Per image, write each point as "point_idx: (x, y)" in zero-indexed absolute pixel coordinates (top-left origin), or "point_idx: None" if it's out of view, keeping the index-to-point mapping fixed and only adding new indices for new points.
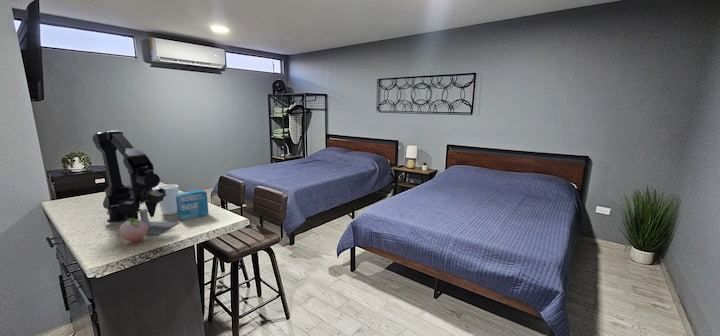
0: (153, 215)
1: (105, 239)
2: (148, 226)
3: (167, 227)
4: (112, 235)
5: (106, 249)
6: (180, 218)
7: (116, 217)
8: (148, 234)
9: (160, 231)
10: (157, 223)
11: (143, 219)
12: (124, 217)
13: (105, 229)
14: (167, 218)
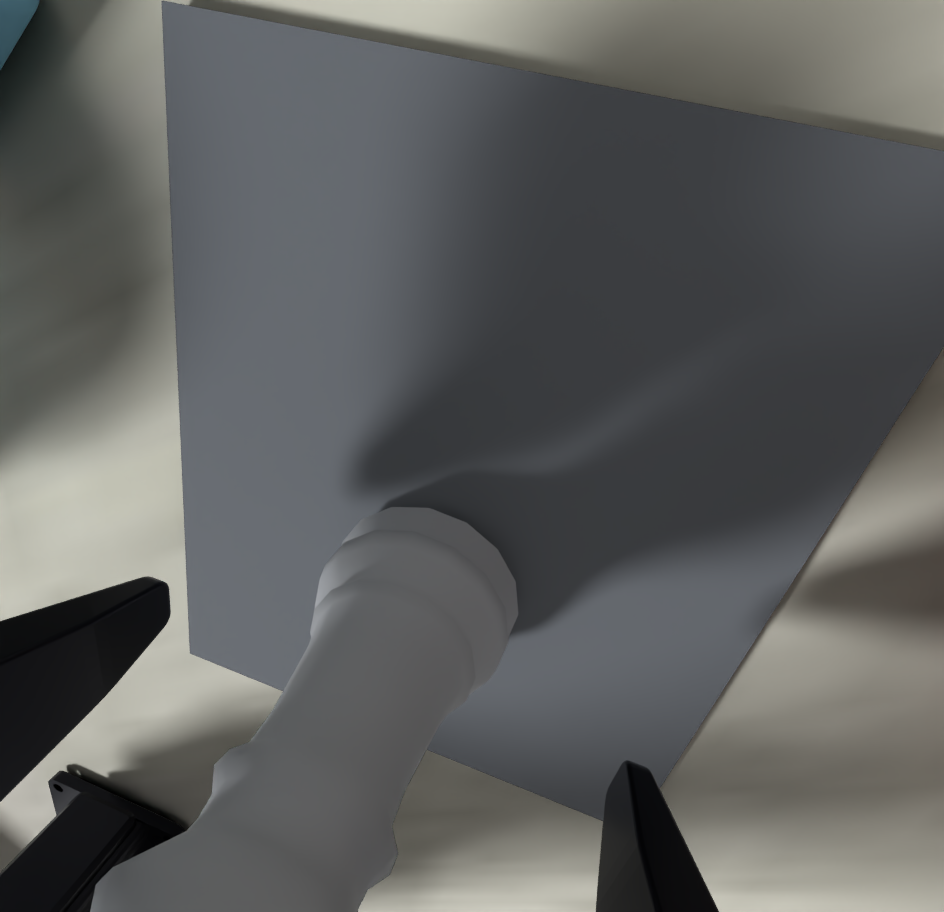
0: (130, 593)
1: (745, 905)
2: (460, 546)
3: (505, 146)
4: None
5: None
6: (10, 17)
7: None
8: (887, 431)
9: (778, 209)
10: (252, 457)
11: (420, 734)
12: (120, 834)
13: (385, 903)
14: (22, 386)
